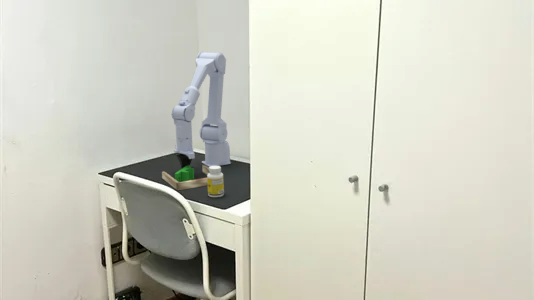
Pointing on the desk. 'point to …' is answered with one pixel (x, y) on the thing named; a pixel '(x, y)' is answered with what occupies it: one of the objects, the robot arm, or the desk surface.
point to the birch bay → (186, 184)
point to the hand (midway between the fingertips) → (185, 173)
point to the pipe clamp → (185, 174)
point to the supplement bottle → (215, 182)
